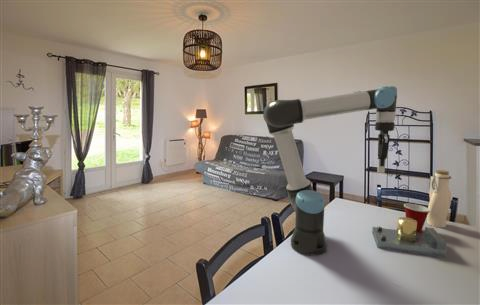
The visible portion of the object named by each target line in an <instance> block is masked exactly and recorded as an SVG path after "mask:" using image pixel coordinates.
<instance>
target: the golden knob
mask: <svg viewBox="0 0 480 305" xmlns="http://www.w3.org/2000/svg"><path fill="white" fill-rule="evenodd" d="M416 228H417V221H416V220H414V219H411V218H407V217H406V216H405V217H404V216H402V217H401V216H399V217H398V219H397V228H396V230H397V237H398V238H399V239H400V240H404V241H410V242H412V241H415V237H416Z"/></svg>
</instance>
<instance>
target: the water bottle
mask: <svg viewBox="0 0 480 305" xmlns="http://www.w3.org/2000/svg"><path fill="white" fill-rule="evenodd" d="M451 179H452V177H451V176H450V172H449V171H448V170H443V169H437V170H435V173H434V174H433V176H430V181H429V182H430V183H429V184H430V185H429V189H428V190H429V193H428V194H429V203H428V207H427V208H429V209H430V212H429V213H428V215H427V217H426V223H427V225H430V226H432V227H436V228H446V227H447V217H448V213H449V210H450V207H451V202H452V192H451V189H450V187H449V185H450V180H451Z"/></svg>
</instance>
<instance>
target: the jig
mask: <svg viewBox="0 0 480 305" xmlns="http://www.w3.org/2000/svg"><path fill="white" fill-rule="evenodd" d="M371 231H372V235H373V239H374V243H375V245H376V248H379V249H386V250H391V251H399V252H406V253H413V254H419V255H420V254H421V255H425V256H427V255H428V256H434V257H439V258H440V257H441V258H446V253H447V242H446V241H445V240H444V238H443V237H442V236H441V234H439V233H438V232H437V231H436V230H435V229H434V227H427V226H425V227H424V233H423V232H416V237H415V241H412V242H410V241H404V240H400V239H399V238H398V237H397V229H393V228H384V227H382V226H377V227H375V226H372V230H371Z"/></svg>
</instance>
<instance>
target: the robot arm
mask: <svg viewBox="0 0 480 305" xmlns="http://www.w3.org/2000/svg"><path fill="white" fill-rule="evenodd" d="M397 98H398V88H397V87H396V86H393V85H389V86H379V87H378V88H377V89H370V90H364V91H359V90H358V91H353V92H350V93H344V94H340V95H339V94H338V95H333V96H332V95H331V96H326V97H319V98H313V99H307V100H302V99H300V98H297V99H276V100H273V101H270V102H268V103H267V104H266V106H265V107H264V109H263V112H262V114H263V115H262V116H263V120H264V121H265V123H266V126H267V129H268V133H269V134H270V135H271V136H273V139H274V141H275V143H276V147H277V148H276V149H277V151H278V154H279V157H280V161H281V164H282V168H283V171H284V175H285V177H286V181H287V185H286V191H287V196H288V201H289V203H290V205H291V206H292V208H293V210H294V212H295V223H294V224H295V226H294V229H293V232H292V235H291V237H290V246H291V248H292V249H293V250H294V251H295V252H298V253H300V254H302V255H303V254H304V255H308V256H319V255H322V254H324V253H325V252H326V251H327V249H328V242H327V238H326V236H325V232H324V225H325V224H324V221H325V220H324V219H325V208H326V207H325V206H326V203H325V197H324V195H323V194H322V193H321V192H319V191H316V190H314V189H313V187H312V183H311V180H310V179H308V178H307V177H306V175H305V170H304V168H303V167H304V166H303V164H302V159H301V157H300V153H299V150H298V147H297V143H296V139H295V136H294V132H293V129H294V127H295V124H296V125H297V124H301V123H304V122H305V121H306V120H312V119H318V118H324V117H330V116H339V115H344V114H350V113H355V112H362V111H369V110H376V112H375V121H376V122H375V126H374V127H375V128H374V130H375V131H379V133H378V134H377V135H378V136H377V140H378V141H377V142H378V143H377V160H378V161H377V171H376V172H377V173H378V174H385V173H386V172H385V170H386V160H387V159H388V152H389V144H390V140H391V139H390V138H391V137H390V134H389V132H391V131H394V130H395V122H394V121H395V119H396V116H397V114H396V111H397V110H396V108H397V100H398V99H397Z"/></svg>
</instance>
